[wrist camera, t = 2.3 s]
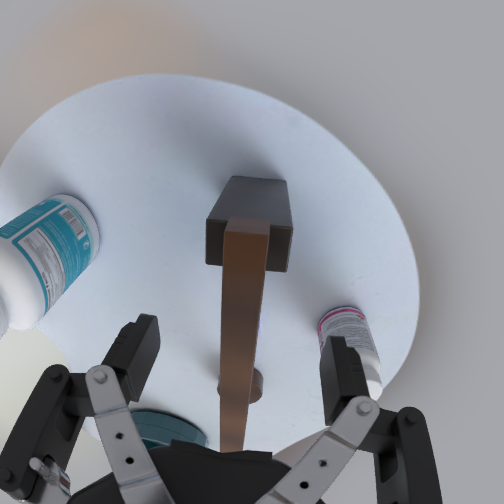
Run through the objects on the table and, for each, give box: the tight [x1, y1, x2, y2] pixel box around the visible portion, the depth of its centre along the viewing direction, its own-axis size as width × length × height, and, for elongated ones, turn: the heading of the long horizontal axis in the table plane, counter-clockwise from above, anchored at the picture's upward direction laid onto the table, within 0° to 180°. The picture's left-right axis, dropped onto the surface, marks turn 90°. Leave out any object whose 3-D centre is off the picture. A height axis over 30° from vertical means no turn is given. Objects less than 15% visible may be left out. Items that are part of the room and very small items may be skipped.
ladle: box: [217, 216, 270, 453], centre depth 22 cm, size 24×5×11 cm, turn 176°
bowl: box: [131, 411, 208, 450], centre depth 37 cm, size 13×13×5 cm
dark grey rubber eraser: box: [205, 176, 293, 272], centre depth 18 cm, size 2×4×9 cm, turn 85°
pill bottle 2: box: [318, 307, 383, 401], centre depth 24 cm, size 5×5×8 cm
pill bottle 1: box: [0, 194, 99, 339], centre depth 19 cm, size 8×7×14 cm
